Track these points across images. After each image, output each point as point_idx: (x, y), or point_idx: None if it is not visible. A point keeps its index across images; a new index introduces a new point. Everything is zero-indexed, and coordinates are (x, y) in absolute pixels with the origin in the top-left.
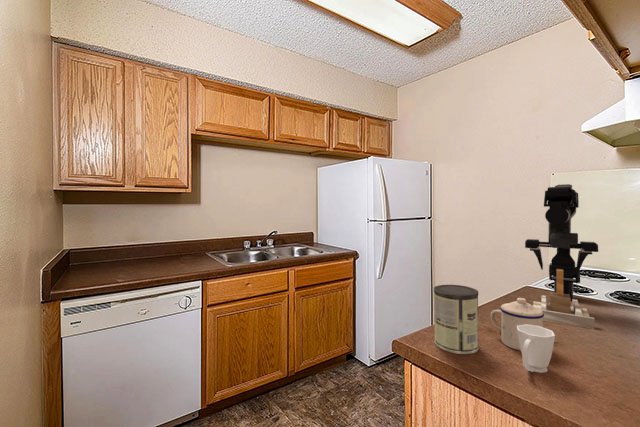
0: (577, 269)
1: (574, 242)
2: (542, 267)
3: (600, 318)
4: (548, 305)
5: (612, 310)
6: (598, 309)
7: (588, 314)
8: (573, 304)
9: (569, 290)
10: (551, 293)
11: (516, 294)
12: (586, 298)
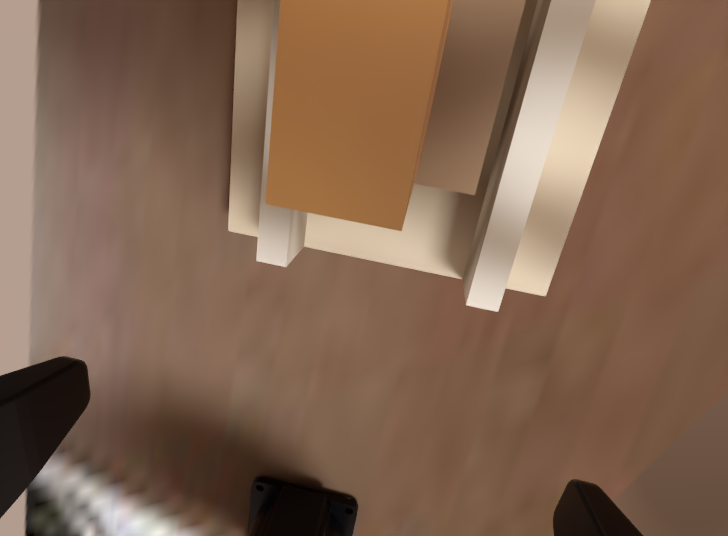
0: (23, 382)
1: None
2: (595, 510)
3: (183, 142)
4: (461, 217)
5: (112, 343)
6: (171, 337)
7: (236, 78)
8: None
9: (261, 532)
10: (476, 129)
11: None
12: (199, 519)
